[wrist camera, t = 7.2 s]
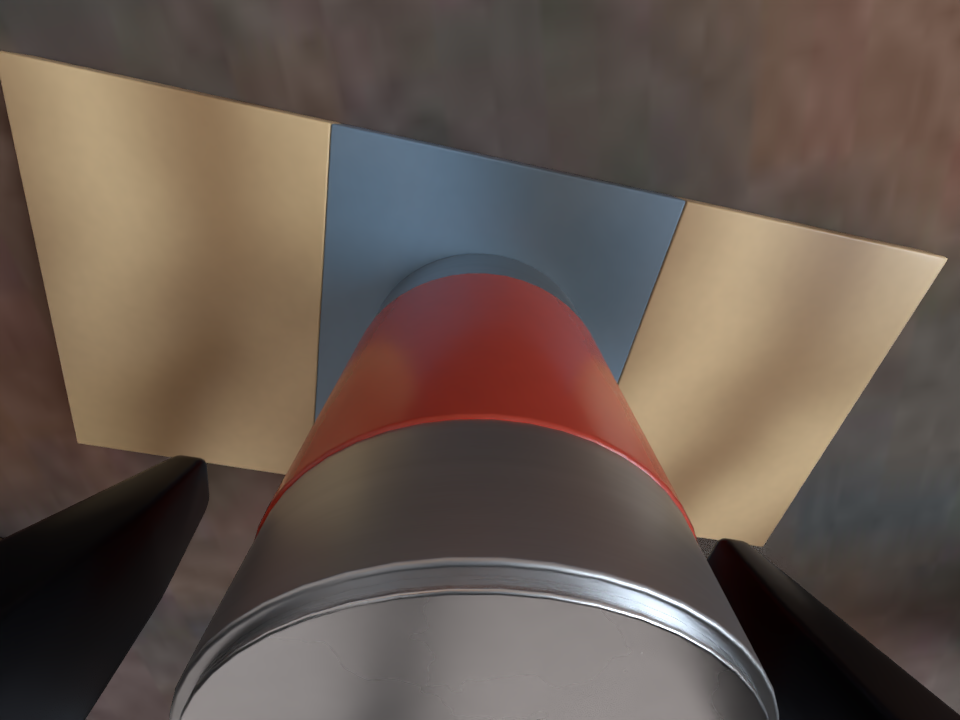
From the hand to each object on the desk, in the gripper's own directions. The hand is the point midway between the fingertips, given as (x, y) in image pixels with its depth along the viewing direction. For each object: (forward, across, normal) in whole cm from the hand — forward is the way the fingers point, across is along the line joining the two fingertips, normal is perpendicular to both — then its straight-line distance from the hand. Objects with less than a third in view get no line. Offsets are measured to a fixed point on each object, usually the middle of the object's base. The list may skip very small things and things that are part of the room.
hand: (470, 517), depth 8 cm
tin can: (+6, 0, 0) cm, 6 cm away
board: (+7, 0, 0) cm, 7 cm away
